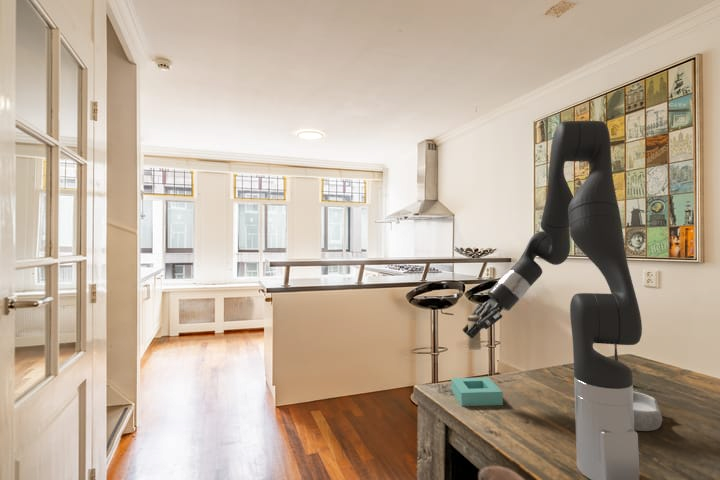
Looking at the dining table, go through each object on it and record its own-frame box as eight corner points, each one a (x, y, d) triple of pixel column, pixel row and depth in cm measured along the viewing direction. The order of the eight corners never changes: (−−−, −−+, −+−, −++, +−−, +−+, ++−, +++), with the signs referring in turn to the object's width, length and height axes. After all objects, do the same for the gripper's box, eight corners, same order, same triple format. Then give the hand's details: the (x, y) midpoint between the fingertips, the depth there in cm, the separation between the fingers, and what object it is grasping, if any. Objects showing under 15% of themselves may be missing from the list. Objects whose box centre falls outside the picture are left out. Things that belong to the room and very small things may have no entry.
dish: (648, 410, 96) (648, 390, 96) (678, 437, 83) (677, 414, 83) (584, 405, 100) (584, 386, 100) (603, 430, 87) (602, 408, 87)
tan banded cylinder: (482, 349, 105) (481, 317, 105) (470, 350, 105) (469, 317, 105) (478, 346, 108) (477, 315, 108) (467, 346, 108) (466, 315, 108)
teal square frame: (502, 404, 101) (502, 391, 101) (461, 406, 101) (461, 392, 101) (488, 389, 112) (488, 377, 112) (451, 390, 112) (451, 378, 112)
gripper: (490, 278, 114) (451, 320, 114) (508, 283, 100) (464, 330, 100) (508, 295, 114) (469, 337, 114) (529, 303, 100) (484, 350, 99)
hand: (467, 334), depth 107 cm, fingers closed on tan banded cylinder, 3 cm apart
